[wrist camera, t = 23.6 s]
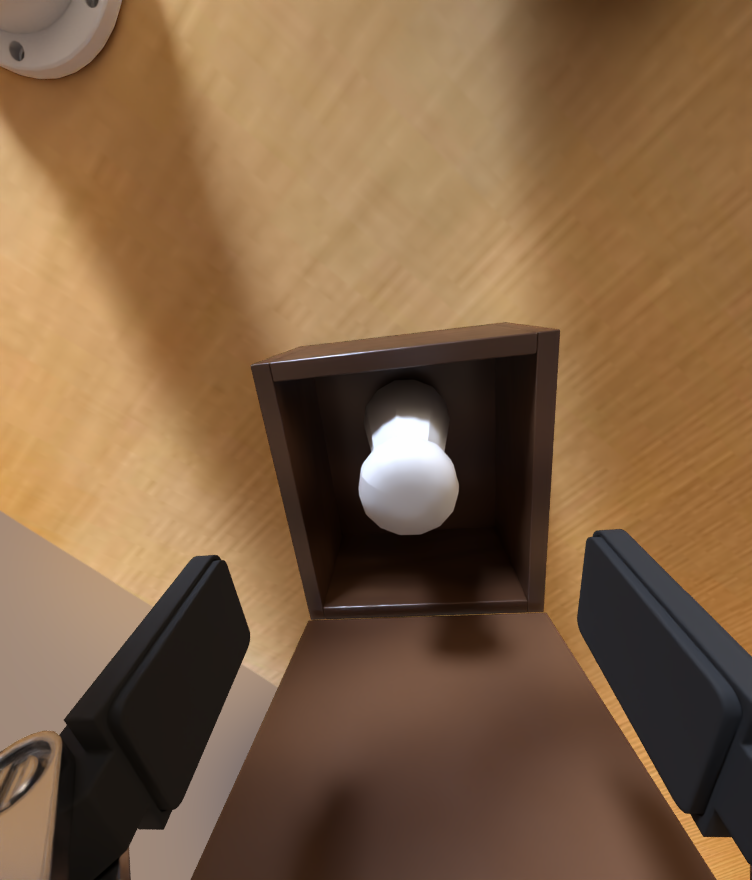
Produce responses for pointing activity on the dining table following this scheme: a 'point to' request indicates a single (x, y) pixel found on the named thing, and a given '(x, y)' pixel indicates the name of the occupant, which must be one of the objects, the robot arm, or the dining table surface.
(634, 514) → the dining table surface
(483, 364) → the chest
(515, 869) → the chest lid
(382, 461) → the salt shaker
